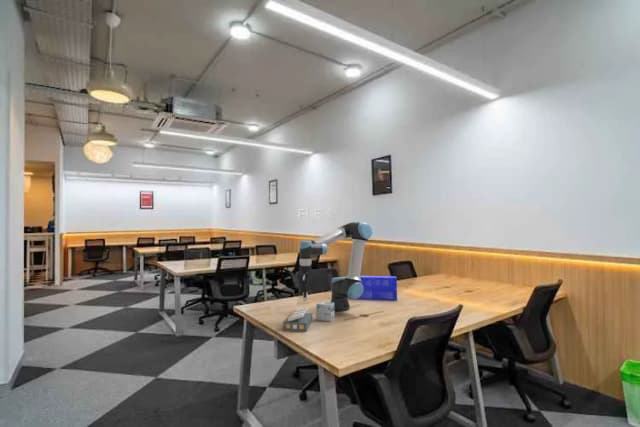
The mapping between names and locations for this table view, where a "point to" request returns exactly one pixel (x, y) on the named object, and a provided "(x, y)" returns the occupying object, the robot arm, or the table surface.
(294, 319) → the rocker near
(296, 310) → the rocker far
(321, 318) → the light bulb box
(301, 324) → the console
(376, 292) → the toner cartridge box
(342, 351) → the table surface
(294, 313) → the rocker mid
